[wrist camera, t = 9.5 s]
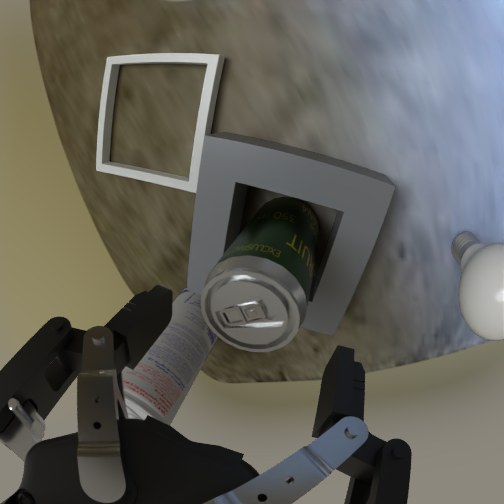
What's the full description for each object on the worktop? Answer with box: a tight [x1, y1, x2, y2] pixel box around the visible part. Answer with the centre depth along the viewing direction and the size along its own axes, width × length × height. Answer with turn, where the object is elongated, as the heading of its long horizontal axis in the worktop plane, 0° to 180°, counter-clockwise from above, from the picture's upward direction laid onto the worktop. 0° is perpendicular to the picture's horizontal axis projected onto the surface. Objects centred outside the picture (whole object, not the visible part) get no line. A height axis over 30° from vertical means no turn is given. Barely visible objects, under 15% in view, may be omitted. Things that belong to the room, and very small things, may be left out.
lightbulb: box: [452, 232, 504, 341], centre depth 15 cm, size 6×6×11 cm
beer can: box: [200, 197, 319, 352], centre depth 19 cm, size 5×5×12 cm
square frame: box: [96, 53, 225, 193], centre depth 22 cm, size 12×12×1 cm
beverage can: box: [122, 288, 218, 425], centre depth 24 cm, size 6×6×15 cm
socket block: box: [187, 132, 395, 336], centre depth 22 cm, size 13×13×4 cm
